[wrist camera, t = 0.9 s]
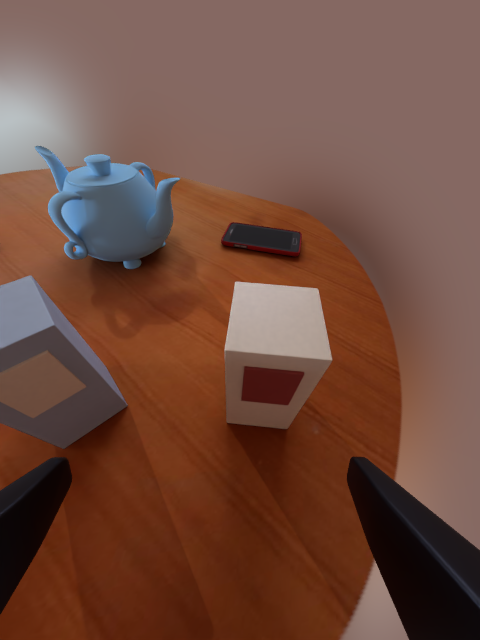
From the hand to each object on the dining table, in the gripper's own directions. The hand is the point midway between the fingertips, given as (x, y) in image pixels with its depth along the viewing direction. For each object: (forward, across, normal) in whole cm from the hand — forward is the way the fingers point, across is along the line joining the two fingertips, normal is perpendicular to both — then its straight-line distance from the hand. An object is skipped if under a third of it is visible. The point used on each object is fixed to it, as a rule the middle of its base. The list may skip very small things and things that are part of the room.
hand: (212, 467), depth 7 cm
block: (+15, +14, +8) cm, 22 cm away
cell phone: (+41, -6, -9) cm, 43 cm away
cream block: (+15, -3, +8) cm, 18 cm away
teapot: (+38, +18, -7) cm, 43 cm away
